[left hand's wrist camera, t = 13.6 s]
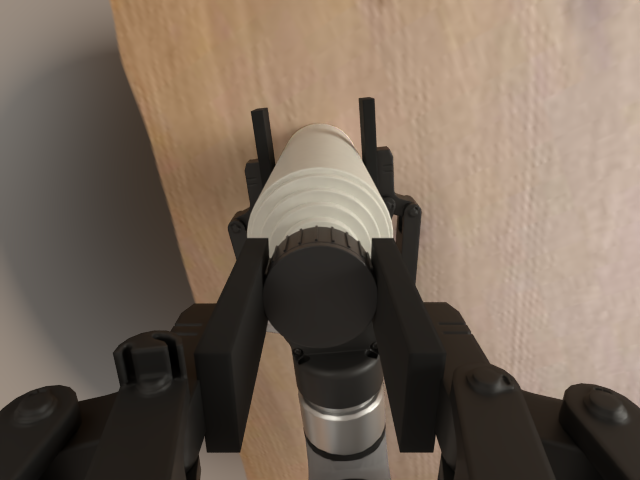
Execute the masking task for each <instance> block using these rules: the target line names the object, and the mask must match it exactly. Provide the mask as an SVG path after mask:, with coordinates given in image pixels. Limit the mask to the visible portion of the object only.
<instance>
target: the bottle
mask: <svg viewBox="0 0 640 480" xmlns="http://www.w3.org/2000/svg"><path fill="white" fill-rule="evenodd" d="M316 225H318V227H329V228H331V226H332V227H334V229H338V230H341V231H343V232H345V233H346V232H348V234H349V235H350V236H352V237H353V238H354V239H356V240H357V241H358V240H359V241H360V242H361V245H362V247H363V248H364V249H365V251H366V252H368V253H369V256H370V259H371V244H372V238H393V227H392V221H391V218H390V214H389V211H388V209H387V207H386V205H385V203H384V201H383V199H382V197H381V195H380V194H379V192H378V190H377V188H376V186H375V184H374V182H373V180H372V178H371V177H370V175H369V173H368V171H367V169H366V167H365V165H364V163H363V161H362V160H361V158H360V156H359V154H358V152H357V150H356V148H355V146H354V144H353V143H352V141H351V139H350V138H349V137H348V136H347V135H346V134H345V133H344V132H343V131H342V130H340V129H339V128H337V127H335V126H332V125H329V124H321V123H319V124H312V125H308V126H305V127H303V128H301V129H300V130H298V131H297V132H296V133H295V134H294V135H293V136H292V137H291V138H290V140H289V141H288V143H287V145H286V147H285V148H284V150H283V152H282V154H281V156H280V158H279V160H278V162H277V164H276V165H275V167H274V169H273V171H272V173H271V175H270V177H269V179H268V181H267V182H266V184H265V186H264V188H263V190H262V192H261V194H260V196H259V198H258V200H257V201H256V203H255V205H254V207H253V210H252V212H251V215H250V218H249V222H248V229H247V238H268V239H269V258H271V257H272V255H273V253H274V251H275V247H276V245H277V246H279V244H280V243H281V242H282V241H283V240H285V239H286V236H287V235H288V236H290V235H292V234H293V233H295V232H297V231H300V229H301V228H302V230H303V229H306V228H311V227H315V226H316Z"/></svg>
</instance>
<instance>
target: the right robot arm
mask: <svg viewBox="0 0 640 480" xmlns="http://www.w3.org/2000/svg"><path fill="white" fill-rule="evenodd" d="M359 111H360V128H361V145H362V161H363V163H364V165H365V167H366V169H367V171H368V173H369V175H370V177H371V178H372V180H373V182H374V184H375V186H376V188H377V190H378V192H379V194H380V195H381V197H382V199H383V201H384V203H385V205H386V207H387V209H388V211H389V214H390V218H391V220H392V217H393V214H394V215H398V216H397V232H396V245H397V247H398V249H399V252H400V254H401V256H402V258H403V260H404V262H405V264H406V267H407V269H408V271H409V273H410V275H411V277H412V279H413V282H414V284H415V283H416V271H417V259H418V248H419V236H420V224H421V213H422V212H421V208H420V207H419V205H418V204H417V203H416V202H415V200H414V199H413V198H412V197H411V196H408V195H406V196H403V195H399V194H396V193H395V192H394V172H393V155H392V153H391V151H390V149H389V148H388V147H387V146H385V147H377V144H376V123H375V101H374V98H371V97H366V98H359ZM251 116H252V122H253V129H254V135H255V142H256V148H257V155H258V159H253V160H249V161H248V162H247V163H246V168H245V176H246V182H247V188H248V194H249V200H250V207H249V208H247V209H245V210H243V211H238V212H237V213H236V214H235V215H234V217H233V218H232V220H231V222H230V223H229V225H228V232H229V235H230V239H231V242H232V246H233V249H234V253H235V256H236V260H237V259H238V256H239V254H240V252H241V250H242V248H243V246H244V243H245V241H246V239H247V229H248V222H249V218H250V215H251V212H252V210H253V207H254V205H255V203H256V201H257V200H258V198H259V196H260V194H261V192H262V190H263V188H264V186H265V184H266V182H267V181H268V179H269V177H270V175H271V173H272V171H273V169H274V167H275V158H274V151H273V143H272V136H271V129H270V122H269V114H268V108H260V109H255V110H253V111H251ZM266 332H273V333H279V332H277V331H276V330H275V328H274V327H273V326H272V325H271V323H270V322H269V320H268V325H267V330H266ZM284 338H285V337H284ZM285 339H286V338H285ZM286 341H287V342H288V343H289V344H290V346H291V349H292V355H293V362H294V369H295V375H296V382H297V387H298V397H299V403H300V409H301V415H302V421H303V429H304V434H305V438H306V447H307V456H308V468H309V480H391V477H390V471H389V464H388V455H387V444H386V432H385V428H386V425H385V421H386V415H385V398H384V384H383V370H382V366H381V361H380V357H379V352H378V347H377V343H376V338H375V333H374V329H373V324H372V320H371V322H370V324H369V325H368V326H367V327H366V329H365V330H364V331H363V332H362V333H361V334H359V335H358V336H357V337H355V338H354V339H352V340H350V341H348V342H346V343H344V344H341V345H338V346H334V347H328V348H312V347H306V346H302V345H299V344H296V343H294V342H292V341H290V340H288V339H286Z"/></svg>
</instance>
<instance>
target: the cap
mask: <svg viewBox="0 0 640 480" xmlns="http://www.w3.org/2000/svg"><path fill="white" fill-rule="evenodd" d="M264 276H266V278H265V281H264V285H263V305H264V312H265V314H266V316H267V319H268V320H269V322H270V323H271V325H272V326H273V327H274V328H275V330H276V331H277V332H279V333H280V334H281V335H282V336H284V337H285V338H286V339H288V340H290V341H292V342H294V343H296V344H299V345H302V346H306V347H312V348H328V347H334V346H338V345H341V344H344V343H346V342H348V341H350V340H352V339H354V338H355V337H357V336H358V335H359V334H361V333H362V332H363V331H364V330H365V329H366V327H367V326H368V325H369V324H370V322H371V320H372V319H373V317H374V315H375V312H376V309H377V291H378V289H377V284H376V280H375V276H374V273H373V266H372V263H371V259H370V256H369V253H368V252H366V251H365V249H364V248H363V247H362V245H361V242H360V241H359V240H358V241H357V240H356V239H354V238H353V237H352V236H350V235H349V234H348V232H346V233H345V232H343V231H341V230H338V229H334V227H332V226H331V228H329V227H318V225H316V226H315V227H311V228H306V229H303V230H302V228H301V229H300V231H297V232H295V233H293V234H292V235H290V236H288V235H287V236H286V239H285V240H283V241H282V242H281V243H280V244H279V246H277V245H276V247H275V251H274V253H273V255H272V257H271V258H269V260H268V264H267V267H266V271H265V274H264Z"/></svg>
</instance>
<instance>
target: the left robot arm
mask: <svg viewBox="0 0 640 480" xmlns="http://www.w3.org/2000/svg"><path fill="white" fill-rule="evenodd" d="M268 260H269V239H268V238H247V239H246V241H245V243H244V246H243V248H242V250H241V252H240V254H239V256H238V259H237V261H236V263H235V265H234V267H233V269H232V271H231V274H230V276H229V278H228V280H227V282H226V284H225V287H224V289H223V291H222V293H221V295H220V297H219V299H218V302H217V304H193V305H192V306H190V307H189V308H188V309H186V310H185V311H184V312H182V313H181V315H180V316H179V318H178V320H177V321H176V323H175V326H174V327H173V328H172V330H171V331H170V332H169V331H150V332H145V333H141V334H138V335H136V336H133V337H131V338H129V339H127V340H126V341H124V342H123V343H121V344H120V345H119V346H118V347H117V348H116V350H115V351H114V352H113V356H114V360H115V365H116V369H117V373H118V378H119V383H120V389H119V391H118V392H116V393H112V394H109V395H105V396H101V397H97V398H92V399H88V400H83V401H78V399H77V396H76V393H75V392H74V391H73V390H72V389H71V388H70V387H66V386H62V385H55V386H45V387H42V388H39V389H35V390H32V391H30V392H28V393H26V394H24V395H22V396H20V397H18V398H16V399H14V400H13V401H12V402H10V403H9V404H8V405H7V406H5V407H4V408H3V409H2V410H1V411H0V480H200V475H201V467H200V460H199V451H200V448H201V445H202V442H203V439H204V436H205V442H206V449H207V452H208V453H209V452H211V453H212V452H213V453H214V452H215V453H219V452H220V453H222V452H223V453H224V452H225V453H229V452H230V453H231V452H236V453H237V452H240V451H241V446H242V442H243V437H244V432H245V428H246V423H247V418H248V414H249V409H250V404H251V400H252V395H253V390H254V386H255V381H256V376H257V372H258V367H259V362H260V358H261V353H262V348H263V344H264V339H265V334H266V330H267V325H268V319H267V316H266V314H265V312H264V305H263V285H264V281H265V278H266V276H264V274H265V271H266V267H267V264H268ZM371 263H372V266H373V273H374V276H375V280H376V284H377V289H378V291H377V309H376V312H375V315H374V317H373V319H372V324H373V329H374V333H375V338H376V343H377V347H378V352H379V357H380V361H381V366H382V370H383V375H384V380H385V384H386V389H387V394H388V398H389V403H390V408H391V412H392V417H393V422H394V426H395V431H396V436H397V440H398V445H399V450H400V452H433V451H434V444H435V436H437V439H438V442H439V445H440V448H441V452H442V453H441V460H440V467H439V474H438V480H640V408H639V407H638V406H637V405H635V404H634V403H633V402H631V401H630V400H629V399H627V398H626V397H625V396H623V395H621V394H619V393H617V392H615V391H613V390H611V389H608V388H605V387H602V386H598V385H594V384H583V383H581V384H576V385H571V386H570V387H569V388H568V389H567V390H566V391H565V393H564V397H563V400H560V399H556V398H551V397H547V396H542V395H538V394H534V393H530V392H527V391H524V390H521V388H520V386H519V384H518V383H517V381H516V380H515V378H514V377H513V376H511V375H510V374H509V373H507V372H506V371H505V370H503V369H501V368H499V367H496V366H494V365H492V364H490V363H489V361H488V359H487V358H486V356H485V354H484V353H483V351H482V349H481V348H480V346H479V344H478V343H477V341H476V339H475V338H474V336H473V334H471V331H470V329H469V328H468V326H467V325H466V323H465V321H464V319H463V318H462V316H461V314H460V313H459V311H457V310H456V309H455V308H453V307H452V306H450V305H449V304H448V303H446V302H423V301H422V299H421V297H420V295H419V292H418V290H417V288H416V286H415V284H414V282H413V279H412V277H411V275H410V273H409V271H408V269H407V267H406V264H405V262H404V260H403V258H402V256H401V254H400V252H399V249H398V247H397V245H396V243H395V241H394V239H393V238H372V244H371Z"/></svg>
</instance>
